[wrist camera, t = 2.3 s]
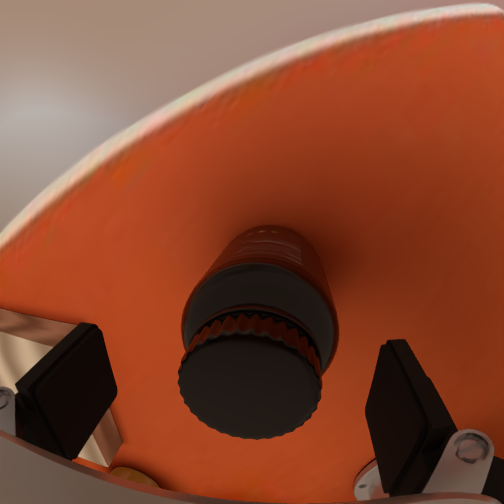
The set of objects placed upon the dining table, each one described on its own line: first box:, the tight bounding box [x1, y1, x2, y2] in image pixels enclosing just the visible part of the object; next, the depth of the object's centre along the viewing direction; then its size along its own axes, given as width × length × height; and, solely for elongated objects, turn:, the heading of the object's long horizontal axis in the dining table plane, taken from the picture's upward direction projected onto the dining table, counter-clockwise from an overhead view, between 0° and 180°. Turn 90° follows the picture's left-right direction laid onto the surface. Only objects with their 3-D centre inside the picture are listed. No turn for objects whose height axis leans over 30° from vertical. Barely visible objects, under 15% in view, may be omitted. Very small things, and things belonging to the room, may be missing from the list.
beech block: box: [0, 308, 122, 467], centre depth 25 cm, size 15×15×4 cm
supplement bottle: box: [178, 226, 339, 440], centre depth 15 cm, size 7×7×12 cm
